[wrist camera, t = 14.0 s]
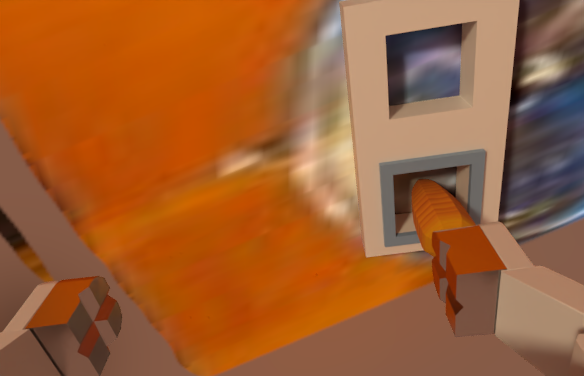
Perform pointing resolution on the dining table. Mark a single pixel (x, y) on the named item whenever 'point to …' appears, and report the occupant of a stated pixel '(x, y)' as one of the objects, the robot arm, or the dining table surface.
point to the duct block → (427, 111)
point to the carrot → (435, 212)
